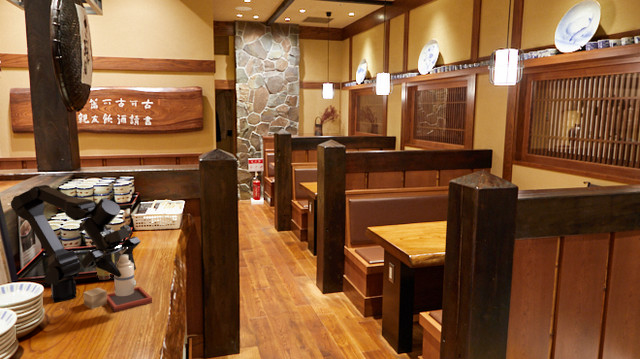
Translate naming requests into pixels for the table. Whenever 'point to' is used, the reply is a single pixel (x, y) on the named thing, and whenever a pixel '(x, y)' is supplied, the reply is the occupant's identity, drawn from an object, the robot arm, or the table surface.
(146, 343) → the table surface
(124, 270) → the white sake bottle
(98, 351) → the table surface
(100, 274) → the sauce bottle
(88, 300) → the wooden masu box
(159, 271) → the table surface
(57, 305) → the table surface
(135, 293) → the lacquer tray
